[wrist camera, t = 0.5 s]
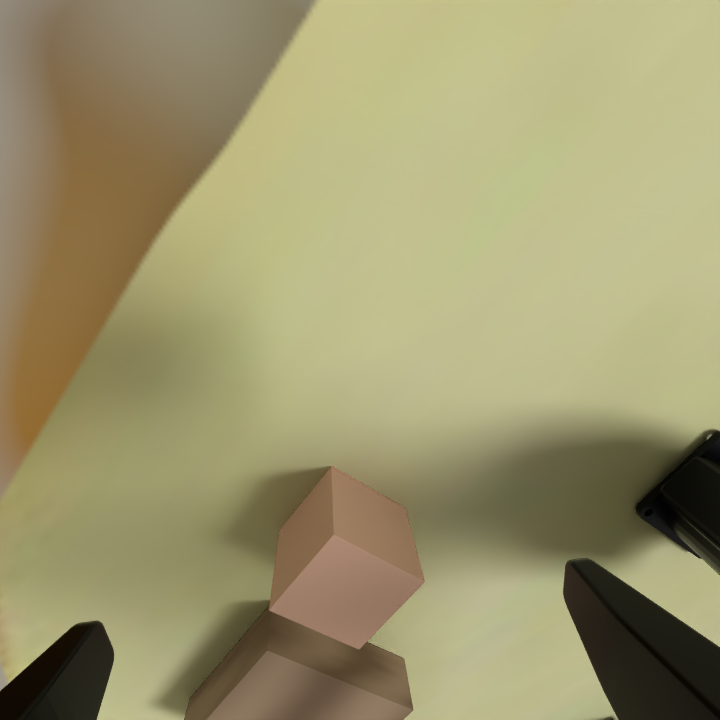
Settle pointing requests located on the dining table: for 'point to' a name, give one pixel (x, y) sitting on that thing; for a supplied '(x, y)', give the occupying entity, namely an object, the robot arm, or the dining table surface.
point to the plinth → (302, 678)
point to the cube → (344, 561)
